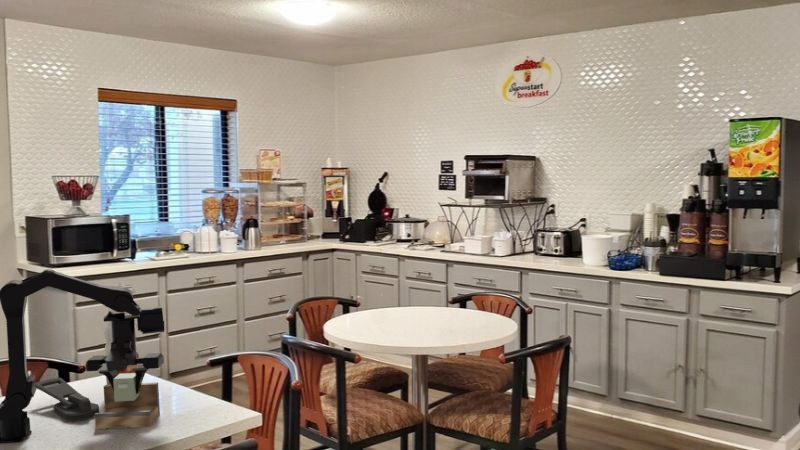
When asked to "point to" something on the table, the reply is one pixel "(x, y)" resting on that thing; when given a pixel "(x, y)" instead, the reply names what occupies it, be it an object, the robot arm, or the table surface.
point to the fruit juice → (108, 347)
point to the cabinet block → (125, 387)
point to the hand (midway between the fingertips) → (127, 393)
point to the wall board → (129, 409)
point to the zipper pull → (74, 406)
